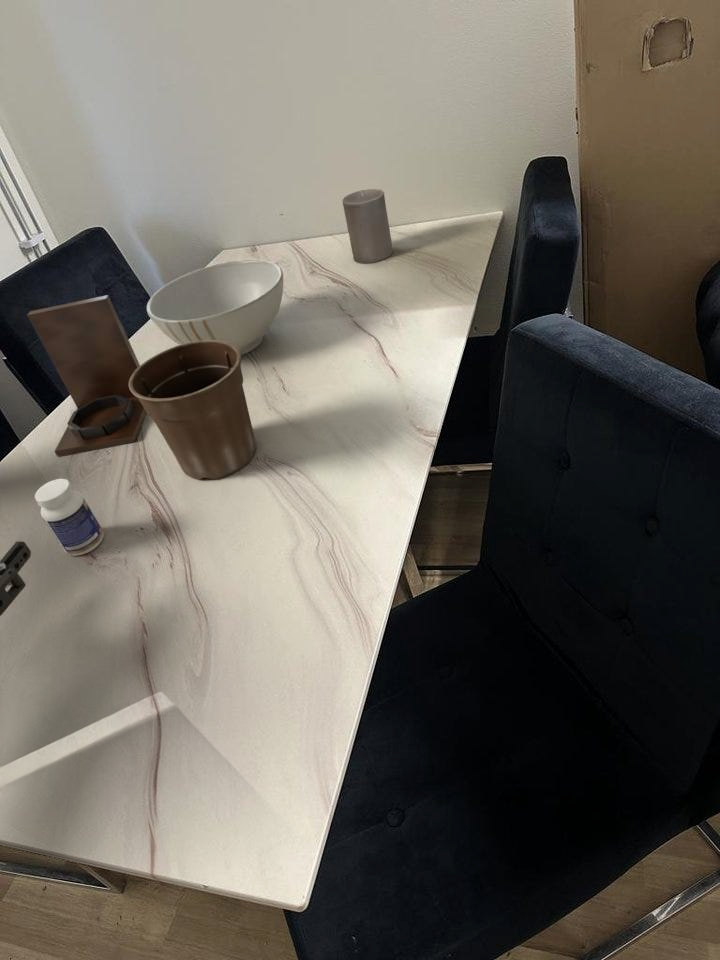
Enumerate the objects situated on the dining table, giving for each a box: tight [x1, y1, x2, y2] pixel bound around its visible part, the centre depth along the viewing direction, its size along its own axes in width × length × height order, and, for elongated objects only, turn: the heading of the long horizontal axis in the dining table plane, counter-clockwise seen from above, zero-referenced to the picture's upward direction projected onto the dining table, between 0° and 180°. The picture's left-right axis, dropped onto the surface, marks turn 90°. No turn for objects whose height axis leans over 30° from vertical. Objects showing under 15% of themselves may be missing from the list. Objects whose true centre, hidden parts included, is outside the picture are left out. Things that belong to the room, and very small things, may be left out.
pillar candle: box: [342, 188, 394, 264], centre depth 153 cm, size 10×10×15 cm
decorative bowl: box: [146, 259, 284, 356], centre depth 131 cm, size 27×27×12 cm
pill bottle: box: [34, 478, 105, 557], centre depth 91 cm, size 6×6×10 cm
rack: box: [26, 294, 148, 457], centre depth 113 cm, size 14×15×20 cm
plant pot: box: [129, 340, 257, 481], centre depth 99 cm, size 16×16×16 cm
